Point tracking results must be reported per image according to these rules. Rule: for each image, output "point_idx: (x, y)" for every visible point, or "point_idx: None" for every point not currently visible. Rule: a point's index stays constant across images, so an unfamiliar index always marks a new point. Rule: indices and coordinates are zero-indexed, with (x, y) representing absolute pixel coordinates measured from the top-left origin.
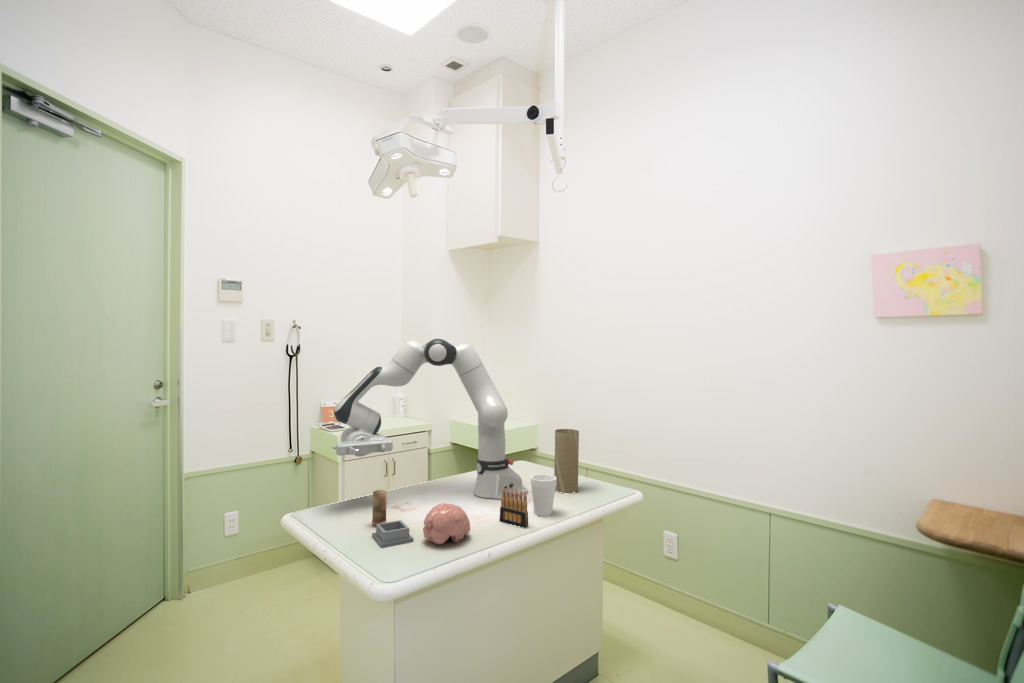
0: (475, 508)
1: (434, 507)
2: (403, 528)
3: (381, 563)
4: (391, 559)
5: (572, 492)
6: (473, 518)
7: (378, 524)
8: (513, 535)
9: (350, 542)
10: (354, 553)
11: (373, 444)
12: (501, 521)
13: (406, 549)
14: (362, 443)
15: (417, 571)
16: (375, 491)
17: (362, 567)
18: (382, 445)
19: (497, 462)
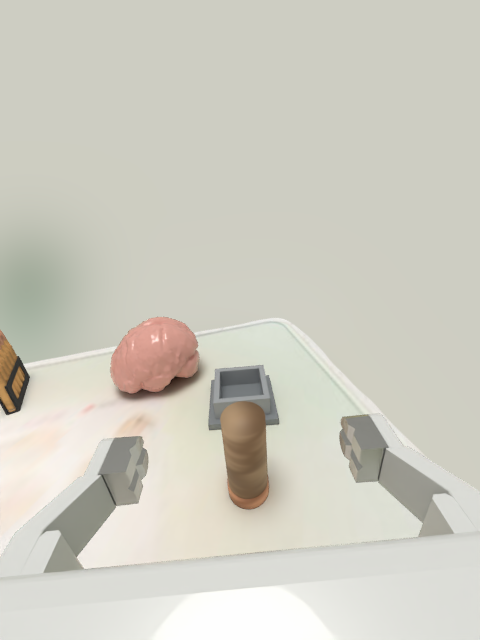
0: None
1: (171, 330)
2: (225, 370)
3: (276, 347)
4: (262, 352)
5: None
6: (33, 442)
7: (265, 396)
8: (72, 364)
9: (323, 412)
10: (313, 376)
11: (144, 564)
12: (20, 407)
13: (233, 367)
14: (311, 587)
15: (241, 329)
16: (255, 425)
17: (301, 345)
18: (51, 533)
19: None
